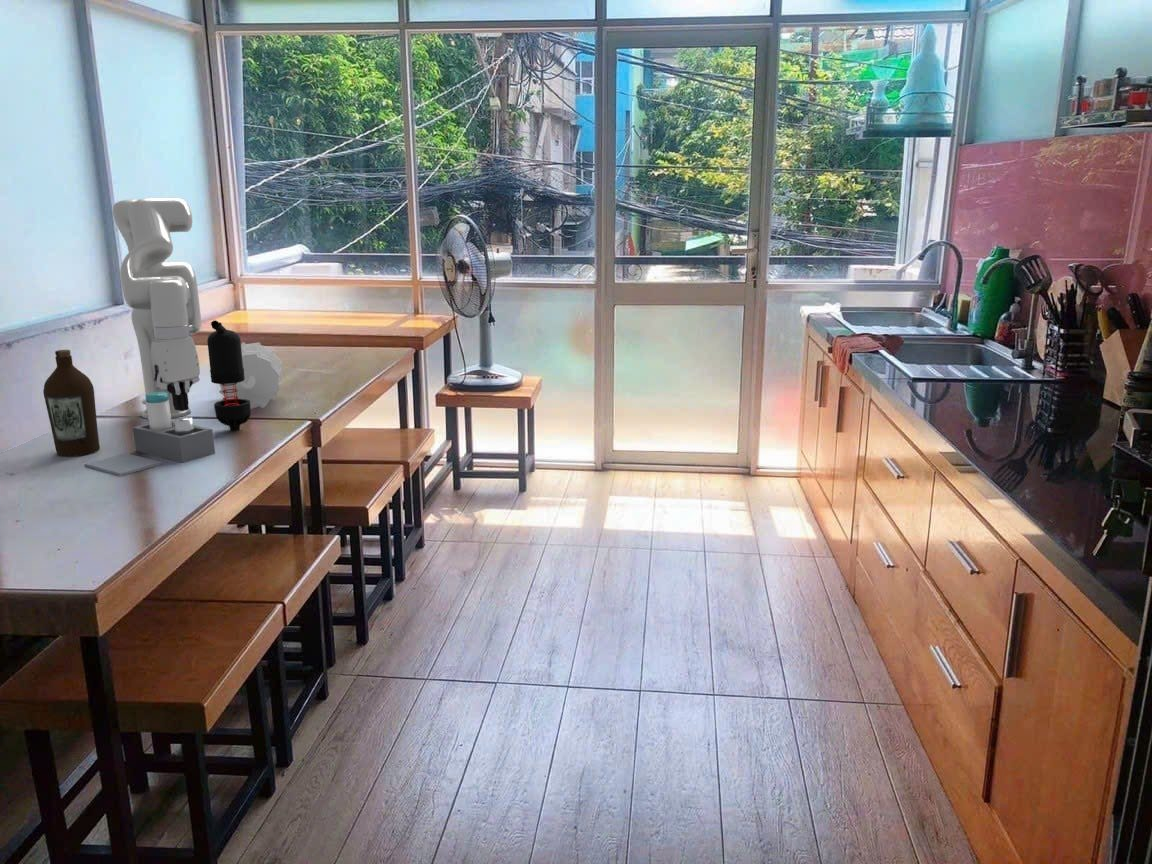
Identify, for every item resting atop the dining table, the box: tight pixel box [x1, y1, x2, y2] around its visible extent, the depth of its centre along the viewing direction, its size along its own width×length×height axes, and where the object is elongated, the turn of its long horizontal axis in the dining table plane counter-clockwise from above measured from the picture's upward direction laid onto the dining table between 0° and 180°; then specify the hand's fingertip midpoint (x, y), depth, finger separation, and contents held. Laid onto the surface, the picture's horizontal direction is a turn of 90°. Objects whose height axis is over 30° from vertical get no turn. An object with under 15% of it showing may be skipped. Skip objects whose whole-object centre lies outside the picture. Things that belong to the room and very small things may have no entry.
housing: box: [132, 420, 216, 463], centre depth 218 cm, size 18×9×6 cm, turn 59°
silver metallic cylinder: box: [172, 416, 195, 436], centre depth 215 cm, size 4×4×5 cm
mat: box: [84, 452, 162, 477], centre depth 209 cm, size 14×10×1 cm
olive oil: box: [42, 349, 101, 458], centre depth 216 cm, size 11×11×25 cm
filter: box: [206, 320, 252, 432], centre depth 236 cm, size 14×9×30 cm
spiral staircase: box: [218, 341, 283, 410], centre depth 265 cm, size 18×18×25 cm
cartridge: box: [145, 392, 173, 431], centre depth 219 cm, size 5×5×14 cm
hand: (181, 409), depth 213 cm, fingers closed
